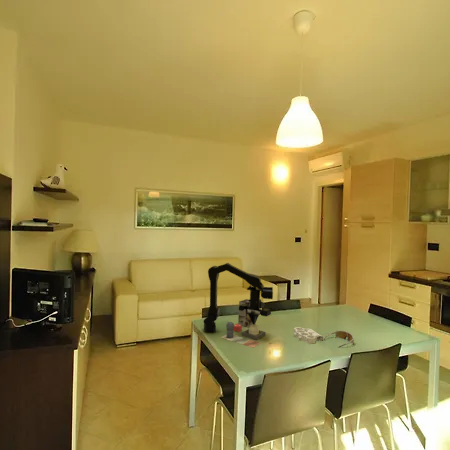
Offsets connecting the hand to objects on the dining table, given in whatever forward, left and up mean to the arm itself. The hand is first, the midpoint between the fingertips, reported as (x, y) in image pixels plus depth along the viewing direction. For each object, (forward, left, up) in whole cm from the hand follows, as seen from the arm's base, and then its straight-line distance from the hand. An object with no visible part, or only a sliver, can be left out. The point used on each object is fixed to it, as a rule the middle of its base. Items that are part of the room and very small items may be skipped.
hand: (253, 324), depth 179 cm
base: (0, 0, -8) cm, 8 cm away
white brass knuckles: (+24, +21, -8) cm, 33 cm away
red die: (-12, +1, -8) cm, 14 cm away
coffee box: (-14, +14, -8) cm, 21 cm away
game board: (-2, -11, -8) cm, 13 cm away
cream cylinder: (0, 0, -6) cm, 6 cm away
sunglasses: (+41, +27, -8) cm, 50 cm away
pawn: (-9, -11, -6) cm, 16 cm away
